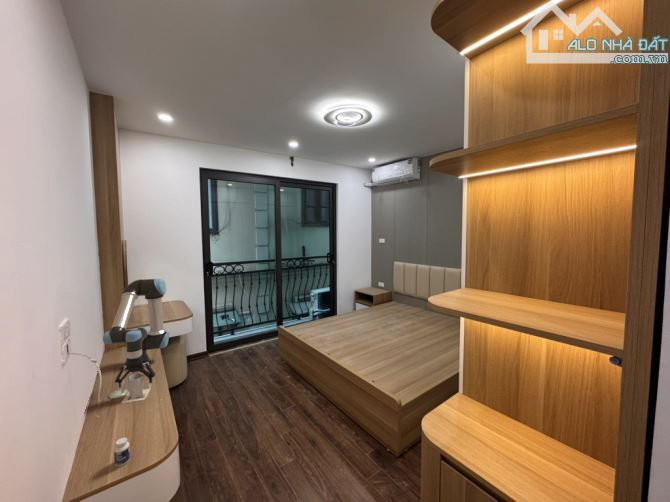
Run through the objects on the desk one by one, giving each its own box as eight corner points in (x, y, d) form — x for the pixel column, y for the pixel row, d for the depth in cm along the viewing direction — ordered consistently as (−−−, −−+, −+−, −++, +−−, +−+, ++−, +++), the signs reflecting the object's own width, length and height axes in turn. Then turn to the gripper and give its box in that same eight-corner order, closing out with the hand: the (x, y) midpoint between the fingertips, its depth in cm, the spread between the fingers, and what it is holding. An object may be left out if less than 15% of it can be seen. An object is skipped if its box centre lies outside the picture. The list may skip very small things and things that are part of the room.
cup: (136, 400, 163) (135, 380, 162) (125, 398, 165) (124, 379, 164) (147, 392, 171) (146, 373, 170) (137, 390, 173) (136, 372, 172)
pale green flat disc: (112, 391, 172) (112, 390, 172) (129, 388, 175) (129, 387, 175) (106, 399, 163) (106, 398, 163) (124, 397, 166) (124, 396, 166)
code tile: (128, 392, 172) (128, 391, 172) (151, 388, 176) (151, 388, 175) (120, 403, 160) (120, 403, 160) (144, 400, 164) (144, 399, 164)
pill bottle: (114, 469, 117) (113, 447, 116) (115, 460, 121) (113, 439, 120) (130, 462, 120) (129, 441, 119) (130, 454, 124) (129, 434, 124)
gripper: (106, 362, 158) (108, 397, 160) (156, 356, 166) (158, 389, 168) (112, 356, 165) (114, 390, 167) (160, 351, 173) (161, 383, 175)
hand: (136, 390), depth 168 cm, fingers open, 13 cm apart
